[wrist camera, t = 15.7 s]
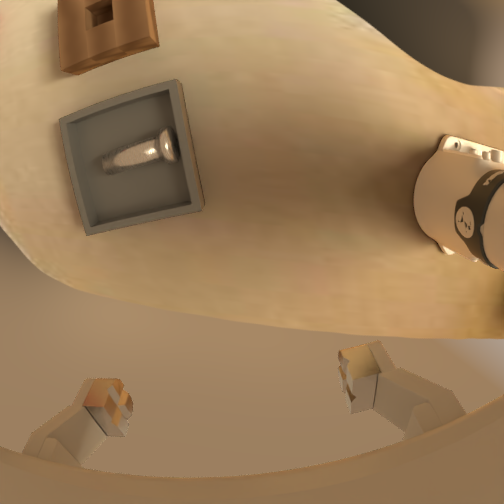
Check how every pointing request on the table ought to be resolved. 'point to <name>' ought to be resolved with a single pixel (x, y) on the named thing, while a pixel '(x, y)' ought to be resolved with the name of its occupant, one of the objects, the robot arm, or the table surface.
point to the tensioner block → (103, 32)
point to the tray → (137, 179)
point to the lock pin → (143, 152)
